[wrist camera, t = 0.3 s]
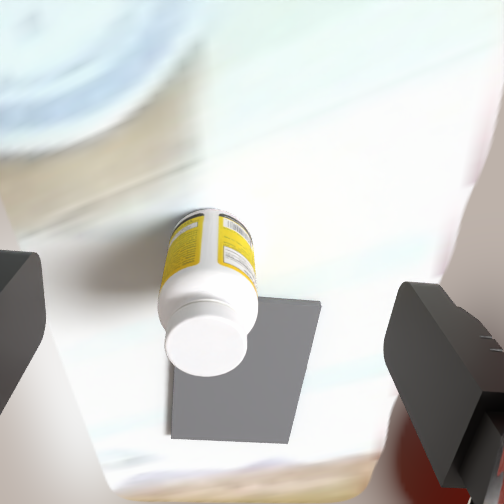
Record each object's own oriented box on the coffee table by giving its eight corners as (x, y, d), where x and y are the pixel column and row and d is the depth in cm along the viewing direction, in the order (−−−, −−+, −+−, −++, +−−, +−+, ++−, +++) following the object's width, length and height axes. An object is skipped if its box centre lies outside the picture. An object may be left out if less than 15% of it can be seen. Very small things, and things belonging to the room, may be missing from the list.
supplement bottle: (169, 275, 32) (148, 385, 24) (170, 203, 30) (147, 299, 21) (248, 280, 33) (255, 389, 25) (257, 209, 30) (268, 306, 22)
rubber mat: (178, 291, 33) (177, 296, 33) (320, 301, 34) (321, 306, 34) (171, 432, 41) (171, 438, 40) (287, 437, 42) (287, 443, 41)
